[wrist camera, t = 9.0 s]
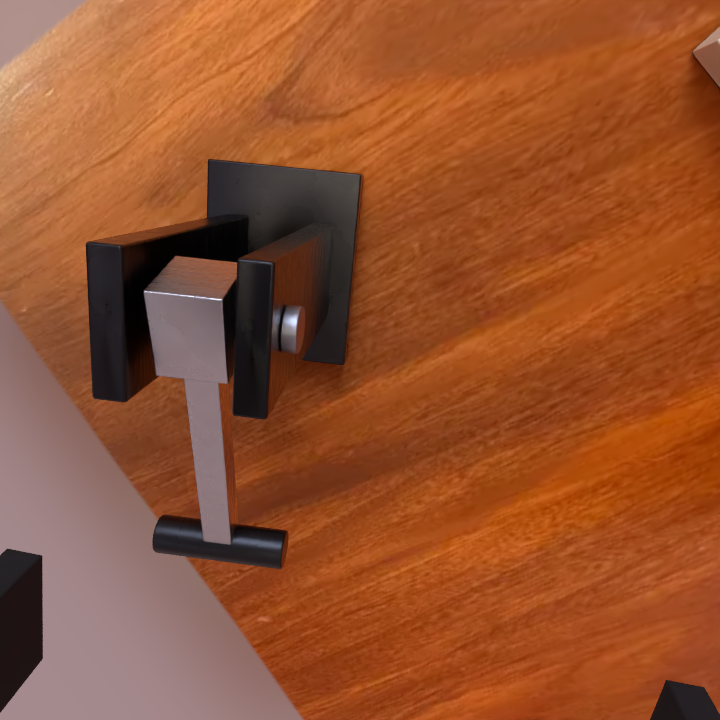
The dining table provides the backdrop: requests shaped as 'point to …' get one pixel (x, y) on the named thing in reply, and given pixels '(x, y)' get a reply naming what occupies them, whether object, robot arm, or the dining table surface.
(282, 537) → the switch lever
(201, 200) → the dining table surface
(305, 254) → the switch bracket
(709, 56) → the button housing
